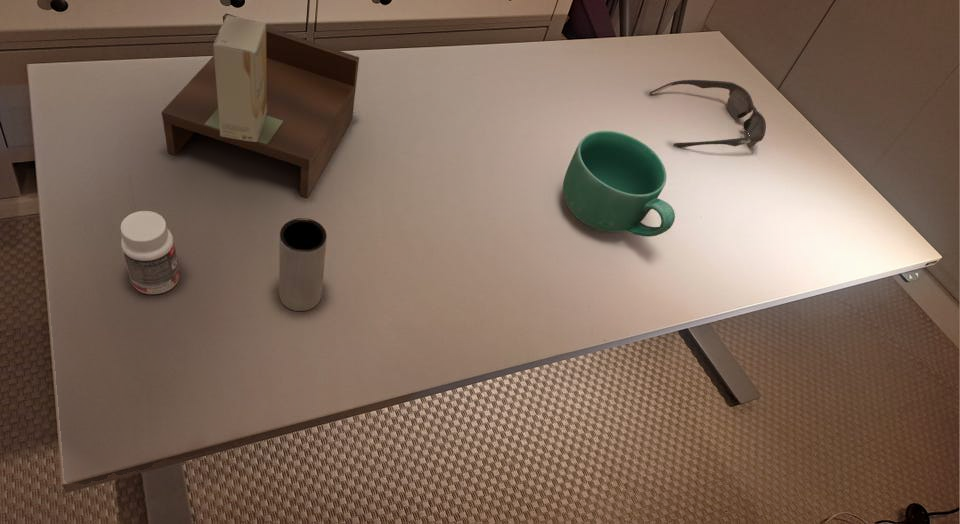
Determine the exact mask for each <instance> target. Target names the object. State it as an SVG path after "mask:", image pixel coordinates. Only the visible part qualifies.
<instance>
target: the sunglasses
mask: <svg viewBox="0 0 960 524" xmlns="http://www.w3.org/2000/svg"><path fill="white" fill-rule="evenodd" d="M677 85H691V86H695V87H697V88H700V89H715V88H716V89H717V88H718V89H724V90H729V91H728V96H729V97H728V98H727V102H726V109H727V111H728V113H729V114H730V116H732V118H734V119H737V120H738V119H743V118H744V117H746V116H747V115H748V114H750V116H749V117H748V118H747V119H746V120H745V121H743V124H742V126H743V127H742V128H743V130H744V131H745V130H746V131H745V133H744V134H745V135H744V136H743V137H738V138H729V139H718V140H705V141H691V142H689V141H687V142H675V143H673V146H675V147H677V148H680V149H682V148H688V147H694V146H703V145H704V146H705V145H707V146H708V145H726V146H731V147H739V146H742V145H746V144H747V145H748V146H749V147H753V146H755V145H756V144H757V143H759V142H761V141H762V140H763V139H764V137H765V135H766V129H767V122H766V120H765V117H764V116H763V114H761V113H760V112H759V111H758V109H757V108H756V107H755V105H754V101H753V99H752V96H751V95H750V93H749V92H748V90H747V89H745V88H744V87H743V86H742V85H738V84H736V83H734V82H732V81H722V80H707V79H706V80H705V79H683V80H682V79H681V80H675V81H672V82H669V83H667V84H664V85H661V86H660V87H658V88H656V89H653V90H652V91H650V92H649V94H650V95H653V96H654V95H656V94H658V93H659V92H661V91H664V90H666V89H667V88H669V87H673V86H677ZM751 113H752V114H751ZM748 133H749V134H748ZM749 135H750V136H749Z"/></svg>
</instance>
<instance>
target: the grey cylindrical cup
mask: <svg viewBox="0 0 960 524" xmlns="http://www.w3.org/2000/svg"><path fill="white" fill-rule="evenodd" d="M327 236H328V235H327V231H326V229H325V228H324V226H323V225H322V224H321V223H320V222H318V221H316V220H314V219H311V218H305V217H299V218H294V219H291V220H289V221H287V222H286V223H285V224H283V225H282V227H281V229H280V231H279V254H278V255H279V258H278V259H279V262H278V265H279V267H278V270H279V271H278V273H279V274H278V276H279V277H278V278H279V279H278V282H279V283H278V295H279V300H280V301H281V303H282V305H283V306H284V307H286V308H287V309H289V310H292V311H296V312H306V311H309V310H311V309H314V308H315V307H316V306H318V305H319V303H320V301H321V299H322V294H323V282H324V274H325V273H324V272H325V261H326V260H325V259H326V249H327V238H328V237H327Z"/></svg>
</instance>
